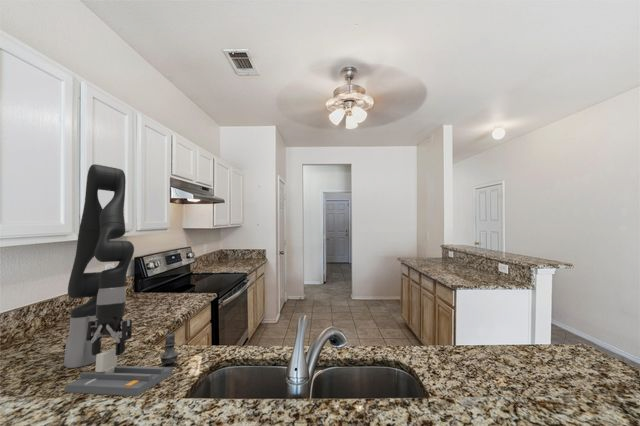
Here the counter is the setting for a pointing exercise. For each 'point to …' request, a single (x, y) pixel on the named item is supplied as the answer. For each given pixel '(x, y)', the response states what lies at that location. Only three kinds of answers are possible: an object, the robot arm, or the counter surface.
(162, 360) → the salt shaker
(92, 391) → the fader console
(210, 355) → the counter surface
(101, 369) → the fader tab
